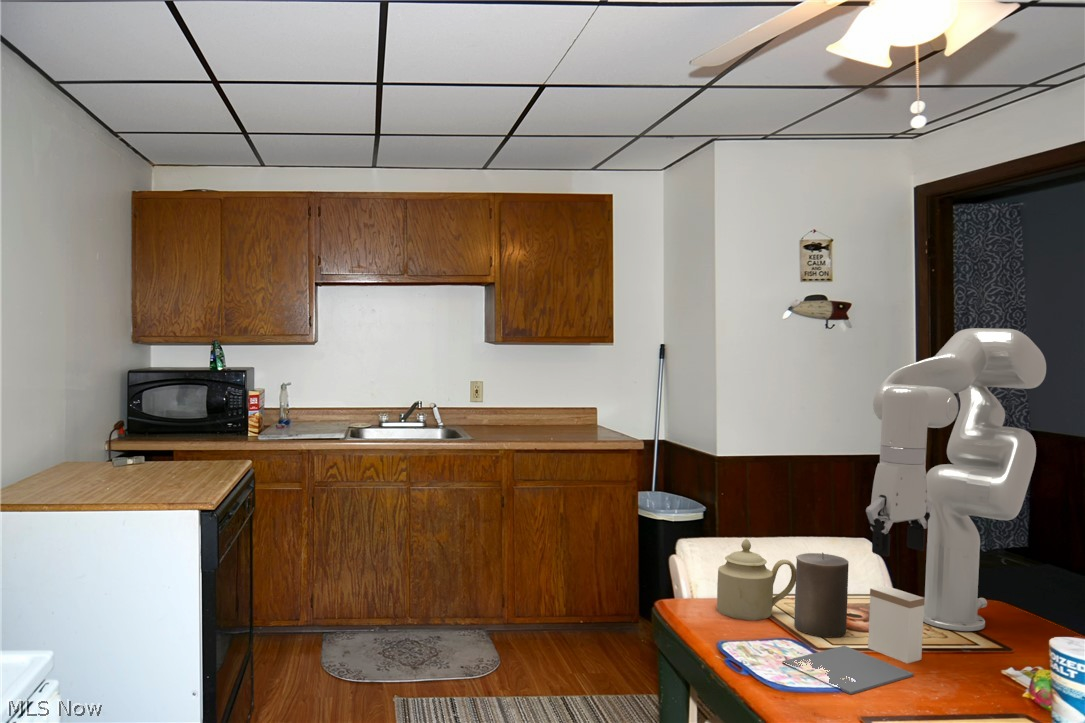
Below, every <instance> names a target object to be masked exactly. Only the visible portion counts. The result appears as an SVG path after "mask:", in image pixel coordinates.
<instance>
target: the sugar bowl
mask: <svg viewBox="0 0 1085 723" xmlns="http://www.w3.org/2000/svg"><path fill="white" fill-rule="evenodd" d="M751 548H752V545H751V542H750V540H749V539H748V538H745V539H743V541H742V543H741V549H742V550H738V551H734V552H731V553H730V554H728V555H726V556H725V557H724V559H725V560H726V562H725V564H722V565H721V566H719V567H718V570H717V582H716V583H717V584H716V585H717V587H716V588H717V589H716V590H717V592H716V594H717V595H716V596H717V597H716V609H717V611H718V612H719V613H720V614H722V615H724V616H726V617H729V618H732V619H736V620H742V621H743V620H744V621H760V620H767V619H769V618H770V617H771V616H772V614H773V607H774V606H775V605H776V604H777V603H779V601H782V600H783V599H784V598H785V597H786V596H788V595H789V594H790V593H791V591H792V590H793V588H794V587H795V586H796V565H795V564H794V563H793V562H792V561H790V560H788V559H780V560H778V561H776V563H774V565H773V567H772V570H770V569H769V568H767V567H766V564H767V560H766V559H765V558H764V557H763V556H761V555H760V554H758V553H757V552H753V551H750V550H751ZM783 565H788V567H789V568H790V571H791V573H790V574H791V575H790V580H789V582H788V584H787V585H786V586H785V588H784V589H783V590H782V591H781V592H779V593H778V594H776V595H775V596H774V584H775V581H776V577H777V574H778V572H779V569H780V568H781V567H782V566H783Z"/></svg>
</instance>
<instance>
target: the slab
mask: <svg viewBox="0 0 1085 723" xmlns="http://www.w3.org/2000/svg"><path fill="white" fill-rule="evenodd" d="M869 589H870V590H869V613H868V614H869V618H868V639H867V640H868V642H867V643H868V644H867V648H868V649H869V650H872V651H874V652H876V653H880V654H882V655H885V656H887V657H889V658H892V659H895V660H897V661H900V662H903V663H905V664H911V663H914V662H918V661H920V660H921V661H922V652H923V634H924V633H923V632H924V622H923V613H924V604H925V597H924V596H919V595H916V594H913V593H910V592H907V591H903V590H901V589H898V588H894V587H891V586H888V585H879V586H875V587H871V588H869Z"/></svg>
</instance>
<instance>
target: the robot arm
mask: <svg viewBox="0 0 1085 723" xmlns="http://www.w3.org/2000/svg"><path fill="white" fill-rule="evenodd" d="M1046 374H1047V362H1046V358H1045V356H1044V354H1043V352H1042V351H1041V349H1040V348H1039V347H1038V346H1037V344H1036V343H1034V341H1033V340H1031V338H1030V337H1029V336H1027V335H1026V334H1025V333H1023V332H1022V331H1019V330H1017V329H1013V328H988V327H987V328H985V327H983V328H981V327H977V328H976V327H975V328H965V329H961V330H958V331H957V332H956V333H954V334H953V336H951V337H950V338H949V340H947V342H946V343H945V344H944V346H942V347H941V348H940V349H939V351H938V352H937V353H936V354H935V355H934V356H932V357H928V358H924V359H922V360H919V361H916V362H913V363H911V364H907V365H905V366H902V367H900V368H898V369H896V370H894V371H892V373H890V374H889V375H888V376H887V377H886V378H885V379H884V380H883V381H882V383H881V384H880V385H879V386H878V388H877V390H876V392H875V394H874V397H873V401H872V402H873V403H872V407H873V412H874V415H875V416H876V417H877V419H879V420H880V421H881V425H880V426H881V428H880V430H881V431H880V445H879V446H880V448H879V449H880V450H879V462H878V463H877V466H876V468H875V474H874V478H873V483H872V492H871V502H870V504H869V506H867V507H866V509H865V513H866V516H867V523H868V524H869V526H870V530H871V531H872V541H871V543H872V545H871V552H872V554H874V555H877V556H878V555H879V556H883V557H887V558H888V557H890V555H891V533H889V531H890V529H891V528H892V526H893V524H894V523H901V522H908V523H909V525H907V530H906V548H908V549H912V550H914V551H915V550H916V551H919V552H923V551H925V540H926V537H925V536H926V529H927V542H926V557H925V560H926V563H925V586H924V598H925V601H924V613H923V623H924V624H927V625H930V626H933V627H937V628H941V629H945V630H951V631H960V632H977V631H980V630H983V629H984V628H985V627H986V620H985V618H984V617H982V615H979V614H978V611H979V609H982V608H986V607H987V606H988V601H987V599H986V598H984V597H979V598H978V596H979V595H978V594H979V587H978V586H979V569H980V549H981V536H980V533H979V530H978V529H977V527H976V525H975V523H974V522H973V520H972V519H971V516H973V517H978V518H979V517H980V518H985V519H986V518H987V519H990V520H998V521H1010V520H1011V521H1012V520H1013V519H1015V518H1016V517H1017V516H1018V515H1019V514H1020V511H1021V510H1022V507H1023V505H1024V504H1023V503H1024V501H1025V498H1026V495H1027V490H1028V488H1029V484H1030V482H1031V477H1032V474H1033V471H1034V467H1035V463H1036V459H1037V458H1036V457H1037V447H1036V446H1037V445H1036V441H1035V439H1034V437H1033V435H1032V434H1031V433H1030V432H1029V431H1028V430H1026V429H1023V428H1019V427H1013V426H1003V425H1004V422H1005V419H1006V411H1005V409H1004V407H1003V405H1002V403H1001V402H1000V401H999V400H998V398H997V397H996V396H995V395H994V394H993V393H992V392H991V391H990V390H989V388H988V387H991V388H993V387H994V388H1007V389H1008V388H1009V389H1023V390H1024V389H1028V390H1029V389H1034V388H1037V387H1039V386H1040V385H1041V384H1042V383H1043V381H1044V380H1045V378H1046ZM957 393H958V397H959V400H960V409H959V402H958V399H957V396H956V395H955V394H957ZM954 421H955V423H954V425H953V428H952V430H951V434H950V437H949V439H948V443H947V447H946V455H947V456H946V457H947V458H948V460H949V461H950V463H951V464H950V463H947V464H938V465H935V466H934V467H931V468H930V469H929V470H928V471H926V464H927V463H926V461H927V442H928V440H927V439H928V428H932V429H936V428H937V429H941V428H945V427H947V426H949V425H951V424H952V423H953V422H954ZM882 521H883V522H884V523H883V522H882Z"/></svg>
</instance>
